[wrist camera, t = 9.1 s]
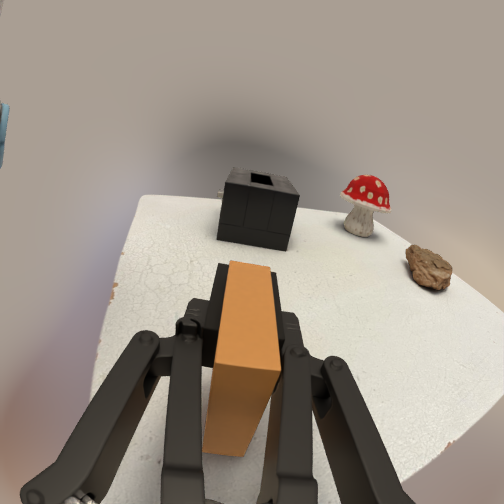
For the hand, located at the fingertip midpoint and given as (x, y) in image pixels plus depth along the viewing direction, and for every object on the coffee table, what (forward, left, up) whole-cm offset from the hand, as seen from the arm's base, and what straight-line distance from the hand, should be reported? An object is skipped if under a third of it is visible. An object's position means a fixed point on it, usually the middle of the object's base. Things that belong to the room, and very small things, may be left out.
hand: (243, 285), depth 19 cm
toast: (0, -5, -6) cm, 8 cm away
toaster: (+2, +37, -9) cm, 38 cm away
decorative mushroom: (+29, +48, -9) cm, 56 cm away
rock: (+38, +26, -9) cm, 47 cm away
